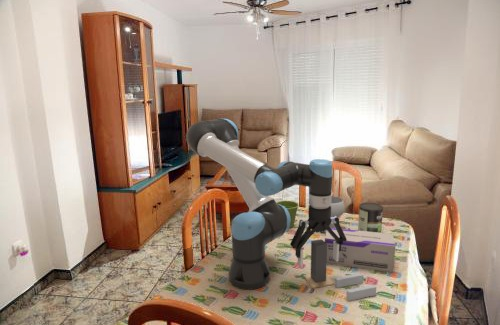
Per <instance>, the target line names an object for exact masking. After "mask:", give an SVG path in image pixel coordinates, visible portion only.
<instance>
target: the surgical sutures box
mask: <svg viewBox="0 0 500 325" xmlns="http://www.w3.org/2000/svg"><path fill="white" fill-rule="evenodd" d="M331 229H332V231H333V232H334V233H335V234H336V235H337V236H338V237H340V236H339V234H338V232H337V230H336V228H331ZM342 230H343V232H344V234H345V237H346V239H347V240H346V241H343V244H342V245H341V251H339V260H338V261H337V262H336V261H335V260H334V259H333V241H336V240H335V239H334V238H333V237H332V236H331V234H330V233H329V232H328V231H327V232H326V233H325V237H324V242H325V243H326V244H327V265H328V264H329V265H335V266H342V267H351V268H358V269H365V270H372V271H373V270H374V271H380V272H387V273H394V269H395V256H396V254H395V253H396V242H395V238H394V233H387V232H385V233H384V232H381V233H378V232H368V231H358V229H357V230H356V229H347V228H342Z"/></svg>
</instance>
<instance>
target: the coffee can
mask: <svg viewBox="0 0 500 325" xmlns="http://www.w3.org/2000/svg"><path fill="white" fill-rule="evenodd" d="M383 211H384V206H382V205H381V204H378V203H375V202H362V203H360V204H358V227H357V230H358V231H368V232H378V233H382V228H383V227H382V224H383V213H384V212H383Z"/></svg>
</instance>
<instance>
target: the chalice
mask: <svg viewBox="0 0 500 325" xmlns="http://www.w3.org/2000/svg"><path fill="white" fill-rule="evenodd" d="M345 206H346V204H345V202H344V200H343V199H342V197H339V196H335V195H332V199H331V217H333V216H334V215H335V216H336V217H338V218H339V217H341V216H343V214H345V211H346V207H345ZM331 217H330V218H331ZM329 227H330V228H335V226H334V224H333V222H332V221H331V223H330V225H329ZM341 228H342V226H341ZM342 229H343V228H342ZM326 232H327V230H325V232H323V233H324V234H326Z"/></svg>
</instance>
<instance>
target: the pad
mask: <svg viewBox="0 0 500 325" xmlns="http://www.w3.org/2000/svg"><path fill="white" fill-rule="evenodd" d="M302 277H304V279H305V280H306V281H307V283H308V284H309V285H310V287H311V288H312V289H317V288H323V287H329V286H335V281H333V280H332V279H331V277H329V276H328V274H326V281H323V282H318V283H315V281H314V280H313V279H312V278H311V273H306V274H303V276H302Z"/></svg>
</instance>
